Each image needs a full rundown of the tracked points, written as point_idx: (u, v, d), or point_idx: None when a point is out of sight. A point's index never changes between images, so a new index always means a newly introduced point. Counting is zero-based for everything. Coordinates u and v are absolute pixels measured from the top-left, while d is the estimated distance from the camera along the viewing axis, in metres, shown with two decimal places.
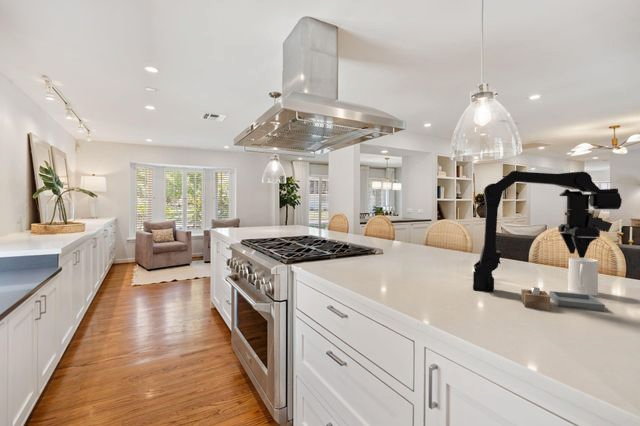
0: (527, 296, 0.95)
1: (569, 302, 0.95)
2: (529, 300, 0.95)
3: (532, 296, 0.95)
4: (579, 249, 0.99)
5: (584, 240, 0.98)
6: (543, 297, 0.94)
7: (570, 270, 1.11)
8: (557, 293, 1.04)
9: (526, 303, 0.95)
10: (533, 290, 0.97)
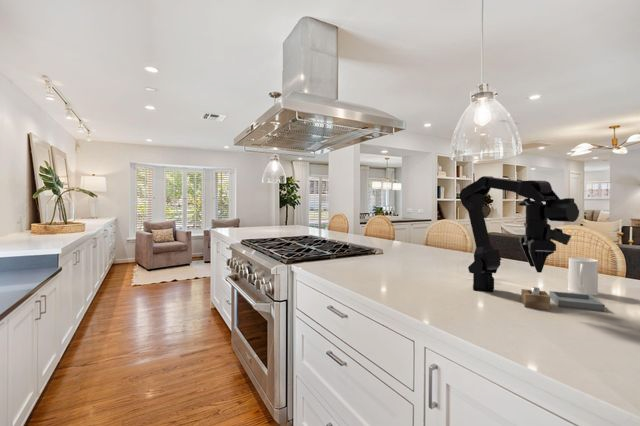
0: (527, 296, 0.95)
1: (569, 302, 0.95)
2: (529, 300, 0.95)
3: (532, 296, 0.95)
4: (536, 263, 0.92)
5: (541, 254, 0.91)
6: (543, 297, 0.94)
7: (570, 270, 1.11)
8: (557, 293, 1.04)
9: (526, 303, 0.95)
10: (533, 290, 0.97)
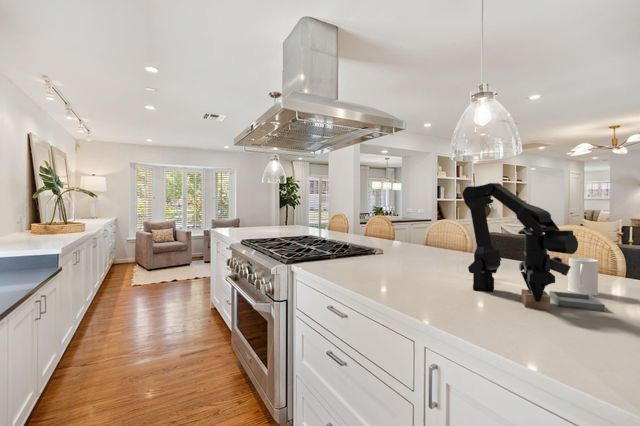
0: (527, 296, 0.95)
1: (569, 302, 0.95)
2: (529, 300, 0.95)
3: (532, 296, 0.95)
4: (534, 293, 0.93)
5: (539, 283, 0.93)
6: (543, 297, 0.94)
7: (570, 270, 1.11)
8: (557, 293, 1.04)
9: (526, 303, 0.95)
10: None
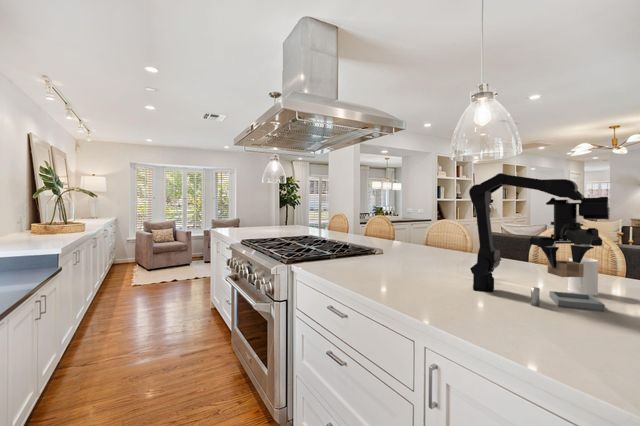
0: (548, 262, 1.00)
1: (569, 302, 0.95)
2: (549, 266, 1.00)
3: None
4: (548, 258, 0.99)
5: None
6: (557, 264, 0.96)
7: None
8: (557, 293, 1.04)
9: (548, 269, 1.00)
10: (533, 290, 0.97)
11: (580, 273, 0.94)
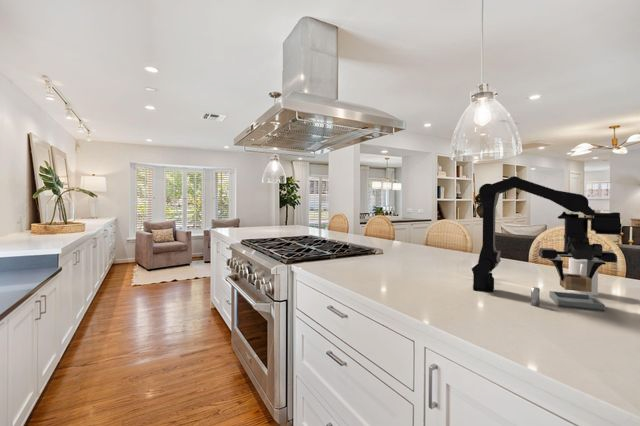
0: None
1: (569, 302, 0.95)
2: (560, 279, 1.02)
3: None
4: (557, 271, 1.01)
5: None
6: (564, 277, 0.98)
7: (570, 270, 1.11)
8: (557, 293, 1.04)
9: None
10: (533, 290, 0.97)
11: (587, 288, 0.94)
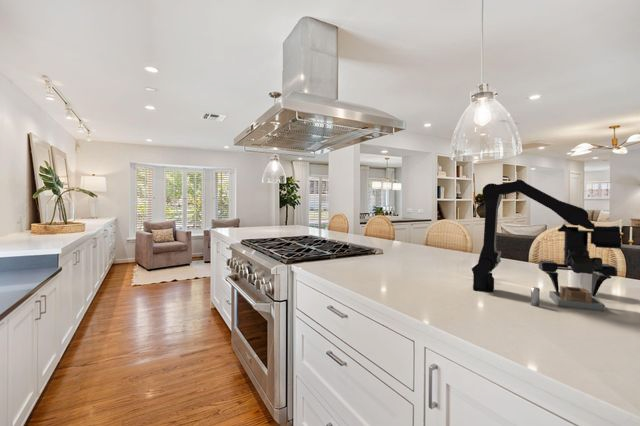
0: (560, 288, 1.02)
1: (569, 302, 0.95)
2: (560, 292, 1.02)
3: (561, 288, 1.01)
4: None
5: None
6: (564, 290, 0.98)
7: (570, 270, 1.11)
8: (557, 293, 1.04)
9: None
10: (533, 290, 0.97)
11: None
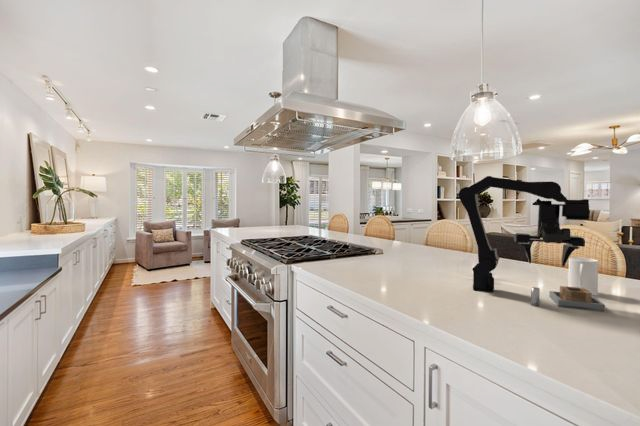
0: (560, 288, 1.02)
1: (569, 302, 0.95)
2: (560, 292, 1.02)
3: (561, 288, 1.01)
4: (526, 254, 1.07)
5: None
6: (564, 290, 0.98)
7: (570, 270, 1.11)
8: (557, 293, 1.04)
9: None
10: (533, 290, 0.97)
11: None
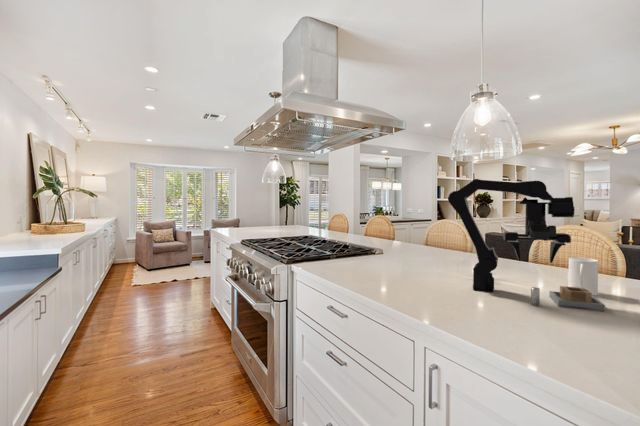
0: (560, 288, 1.02)
1: (569, 302, 0.95)
2: (560, 292, 1.02)
3: (561, 288, 1.01)
4: None
5: None
6: (564, 290, 0.98)
7: (570, 270, 1.11)
8: (557, 293, 1.04)
9: None
10: (533, 290, 0.97)
11: None
